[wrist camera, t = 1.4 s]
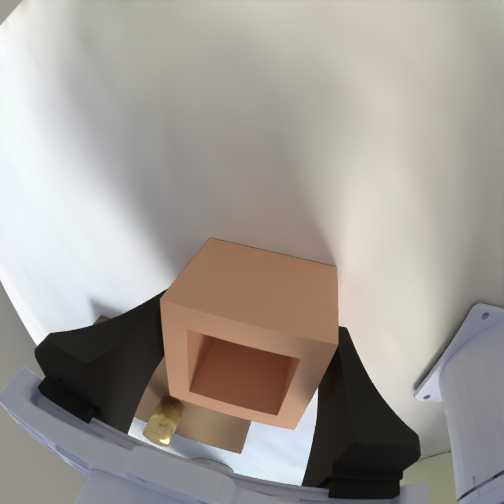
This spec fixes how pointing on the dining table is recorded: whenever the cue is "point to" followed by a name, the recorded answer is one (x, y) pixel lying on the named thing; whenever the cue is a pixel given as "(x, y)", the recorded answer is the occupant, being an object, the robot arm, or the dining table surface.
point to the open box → (250, 332)
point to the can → (434, 477)
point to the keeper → (185, 416)
